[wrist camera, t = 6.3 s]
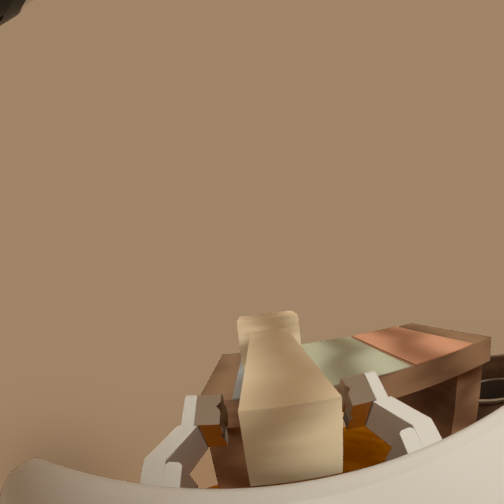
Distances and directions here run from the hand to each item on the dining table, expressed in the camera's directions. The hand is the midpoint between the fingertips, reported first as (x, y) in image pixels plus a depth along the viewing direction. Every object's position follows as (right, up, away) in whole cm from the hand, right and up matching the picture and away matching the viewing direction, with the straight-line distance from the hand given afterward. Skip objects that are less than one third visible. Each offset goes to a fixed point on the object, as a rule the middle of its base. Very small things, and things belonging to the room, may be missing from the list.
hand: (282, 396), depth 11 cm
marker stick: (0, -3, +6) cm, 7 cm away
